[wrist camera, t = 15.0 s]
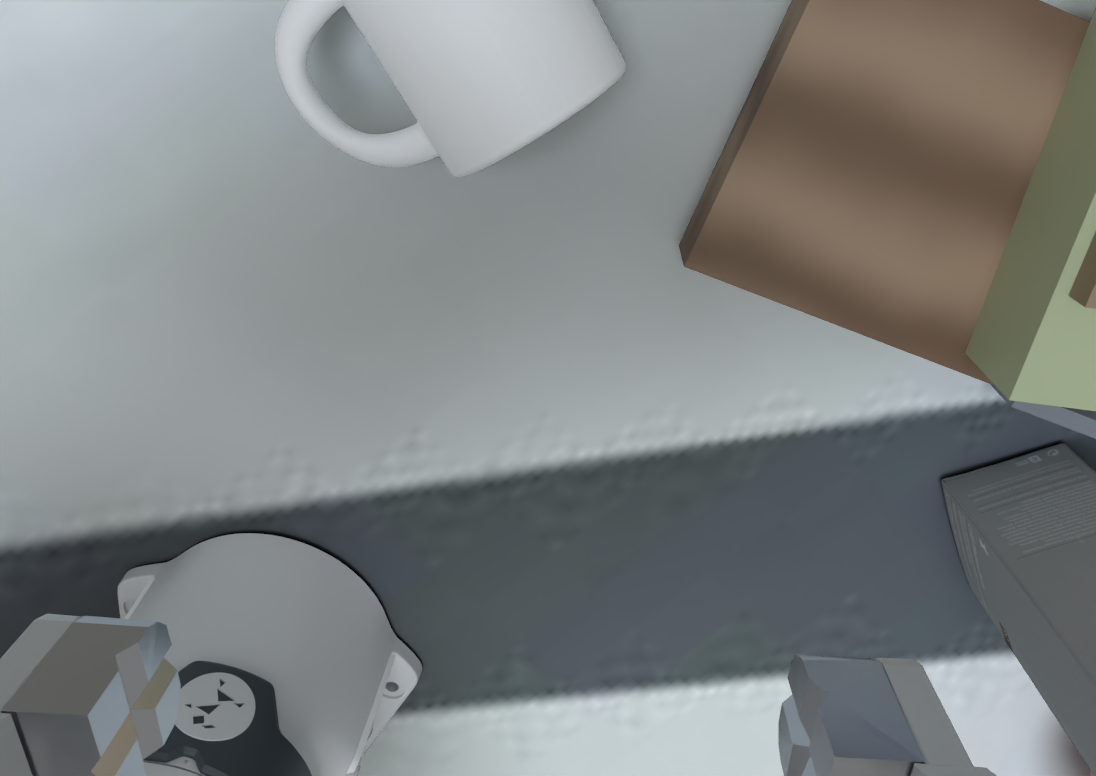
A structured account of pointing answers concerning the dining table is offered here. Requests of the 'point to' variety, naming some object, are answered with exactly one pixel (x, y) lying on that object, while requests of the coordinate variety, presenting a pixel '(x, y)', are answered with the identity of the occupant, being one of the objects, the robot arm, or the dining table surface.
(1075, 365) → the green bar
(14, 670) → the robot arm
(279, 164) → the dining table surface
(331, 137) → the mug
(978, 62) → the brown flat block
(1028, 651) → the skincare box
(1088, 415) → the tray
